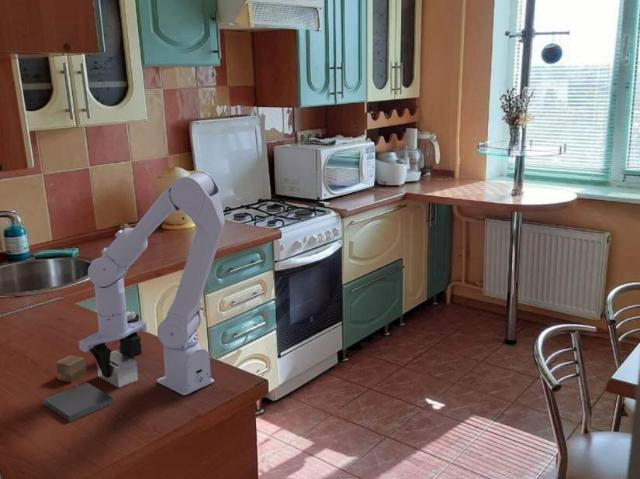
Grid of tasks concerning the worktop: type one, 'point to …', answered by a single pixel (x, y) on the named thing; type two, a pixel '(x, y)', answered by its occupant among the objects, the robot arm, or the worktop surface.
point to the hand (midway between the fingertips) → (117, 371)
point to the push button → (130, 319)
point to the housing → (120, 370)
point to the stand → (78, 401)
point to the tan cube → (71, 368)
